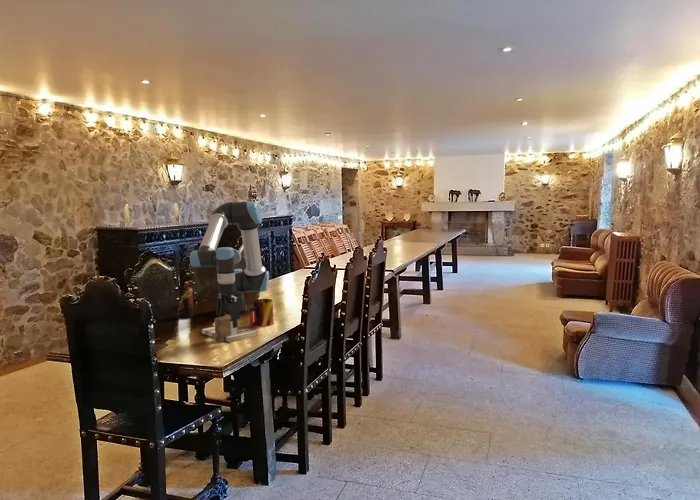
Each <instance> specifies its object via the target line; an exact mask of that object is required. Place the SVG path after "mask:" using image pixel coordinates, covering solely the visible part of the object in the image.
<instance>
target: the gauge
mask: <svg viewBox="0 0 700 500" xmlns="http://www.w3.org/2000/svg"><path fill="white" fill-rule="evenodd" d="M233 318H234V317H233ZM230 320H231V316H230V314H229V315H228V314H227V315H226V316H223V317H219V316H218V317H215V318H214V326H215V337H216V338H215V337H214V338H215V340H216V341H218V342H221V343H222V342H225V341H224V337H227V336H232V335H231V324H230ZM250 328H251V326H250V323H249V324H248V323H247V324H242V325H239V319H238V320H237V334H239V331H240V330H244V329H246V330H248V329H250Z"/></svg>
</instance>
